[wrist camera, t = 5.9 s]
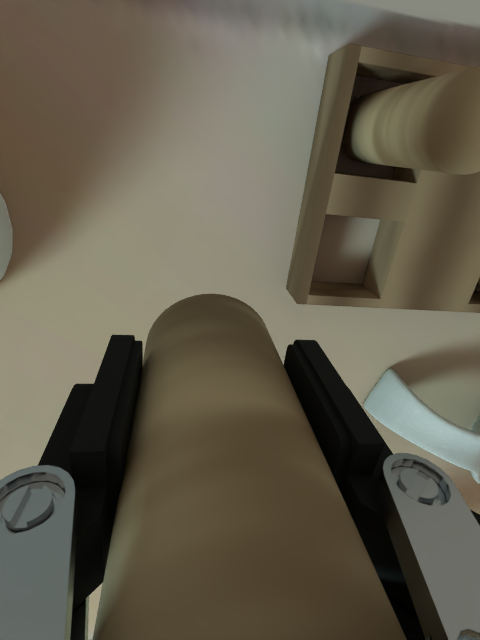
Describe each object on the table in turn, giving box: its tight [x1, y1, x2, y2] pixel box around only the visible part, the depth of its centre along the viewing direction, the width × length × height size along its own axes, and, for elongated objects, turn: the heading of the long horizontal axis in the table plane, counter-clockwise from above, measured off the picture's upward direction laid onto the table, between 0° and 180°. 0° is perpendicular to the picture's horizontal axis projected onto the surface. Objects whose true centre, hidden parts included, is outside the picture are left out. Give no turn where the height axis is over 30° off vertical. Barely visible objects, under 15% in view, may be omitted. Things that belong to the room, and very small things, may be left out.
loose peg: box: [93, 294, 407, 640], centre depth 7 cm, size 4×4×10 cm
